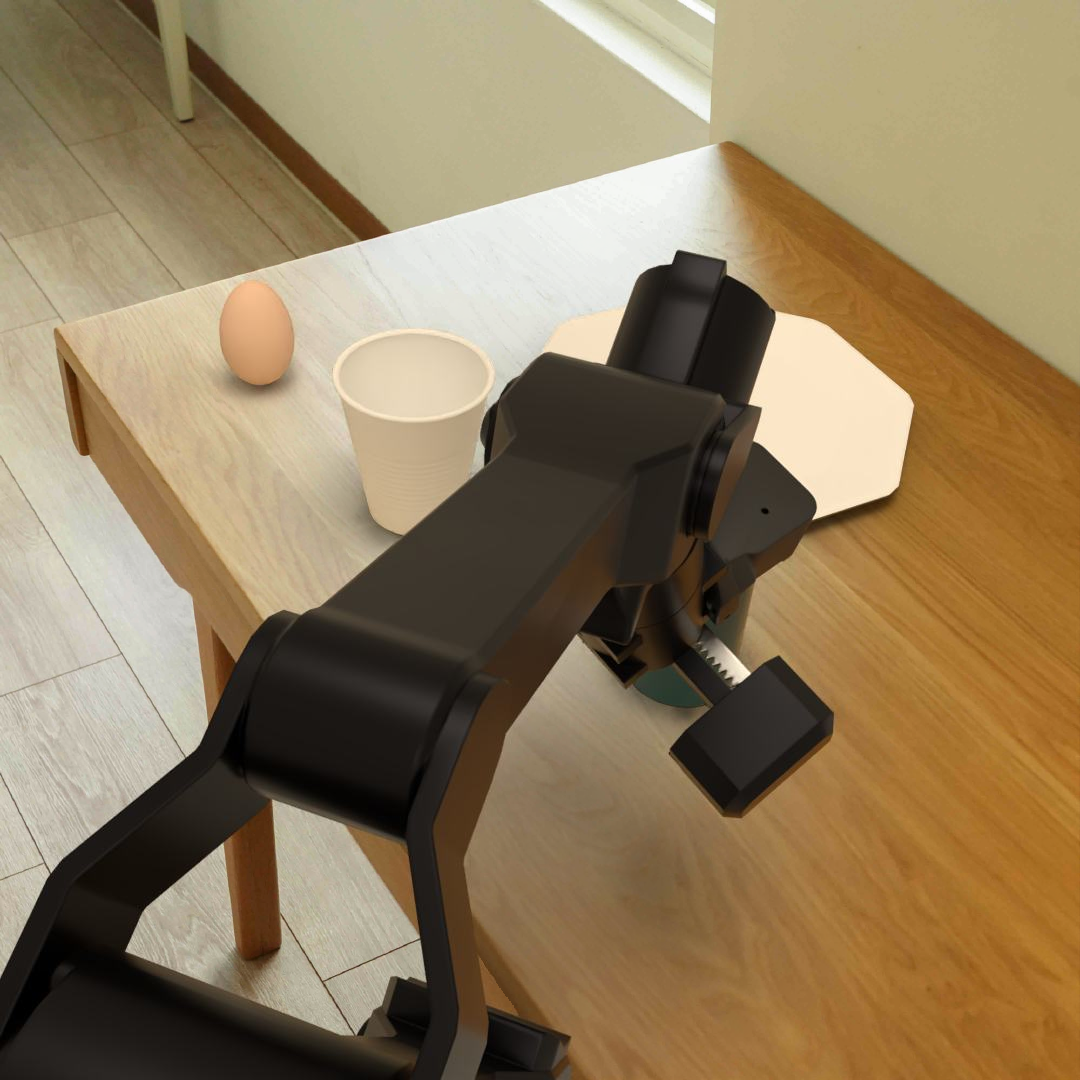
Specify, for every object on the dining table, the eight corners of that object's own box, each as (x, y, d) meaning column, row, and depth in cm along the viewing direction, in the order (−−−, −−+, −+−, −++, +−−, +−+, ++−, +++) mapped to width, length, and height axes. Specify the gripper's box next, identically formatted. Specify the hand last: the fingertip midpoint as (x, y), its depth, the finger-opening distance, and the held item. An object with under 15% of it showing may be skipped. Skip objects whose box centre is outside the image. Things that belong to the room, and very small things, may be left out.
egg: (229, 405, 97) (217, 307, 91) (221, 365, 101) (208, 268, 95) (303, 396, 98) (295, 298, 93) (291, 356, 102) (283, 260, 96)
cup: (330, 555, 86) (319, 415, 78) (351, 458, 93) (343, 322, 86) (486, 564, 86) (490, 425, 78) (494, 467, 93) (499, 332, 86)
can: (751, 697, 78) (790, 529, 70) (643, 715, 77) (669, 546, 68) (712, 618, 83) (744, 452, 74) (610, 634, 82) (630, 466, 73)
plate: (983, 477, 95) (989, 460, 94) (648, 588, 85) (650, 571, 84) (763, 286, 113) (766, 271, 112) (463, 359, 103) (464, 343, 102)
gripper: (955, 598, 51) (903, 699, 65) (631, 285, 57) (649, 440, 72) (733, 792, 49) (730, 851, 64) (426, 447, 56) (487, 572, 70)
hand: (650, 665), depth 67 cm, fingers open, 9 cm apart
